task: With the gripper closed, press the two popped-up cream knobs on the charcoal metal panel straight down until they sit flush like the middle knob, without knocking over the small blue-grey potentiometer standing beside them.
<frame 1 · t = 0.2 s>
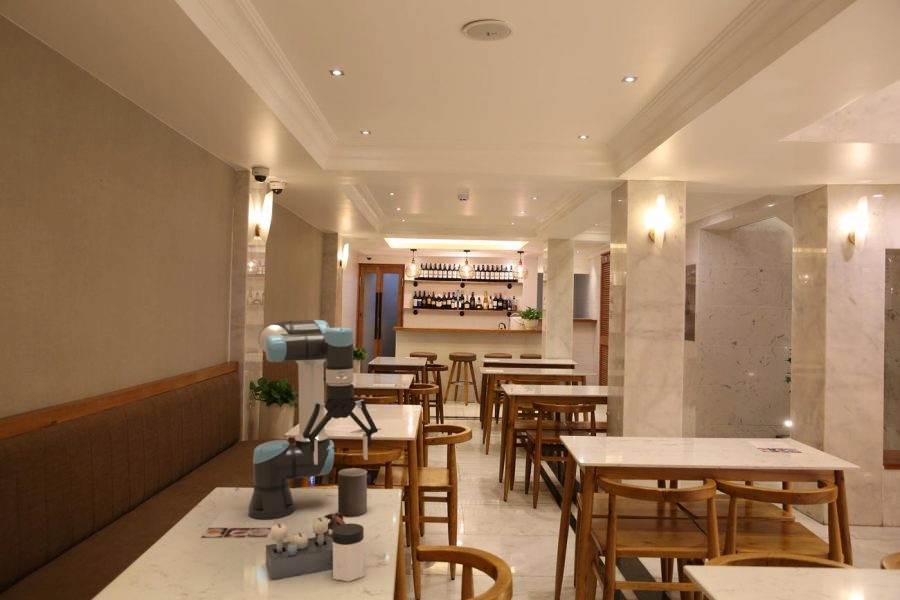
hand: (340, 461, 173), 28 cm above the table, tool pointing down, fingers open, 13 cm apart
knob middle: (300, 549, 170), point 4 cm above the table, slide at 3.3 cm
panel: (300, 565, 170), on the table
pillar candle: (353, 512, 212), on the table
potentiometer: (292, 554, 166), point 5 cm above the table, touching panel
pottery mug: (333, 538, 190), on the table
knob left: (279, 540, 168), point 8 cm above the table, slide at 0.0 cm
jar: (348, 575, 164), on the table
knob right: (320, 534, 173), point 8 cm above the table, slide at 0.0 cm
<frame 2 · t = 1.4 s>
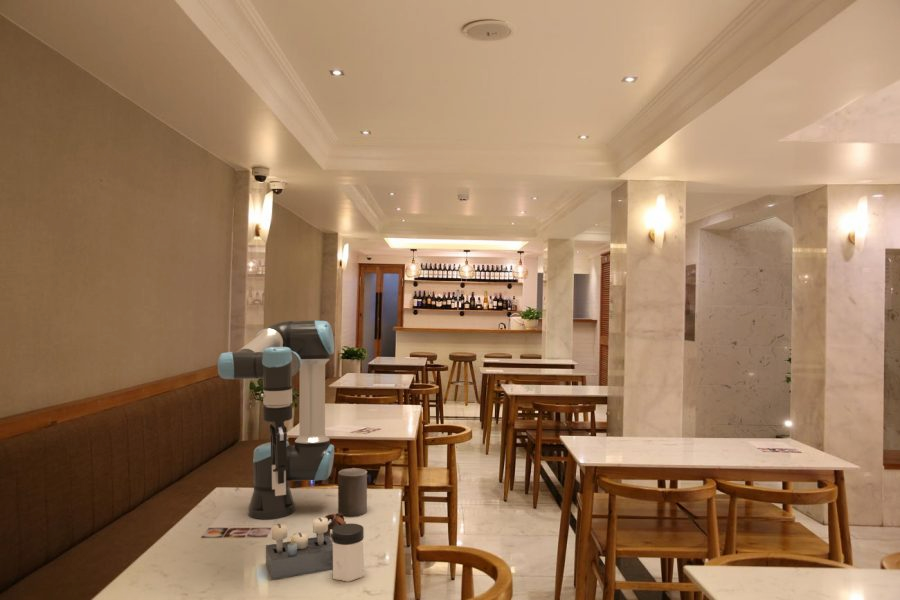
hand: (278, 491, 168), 21 cm above the table, tool pointing down, fingers open, 5 cm apart
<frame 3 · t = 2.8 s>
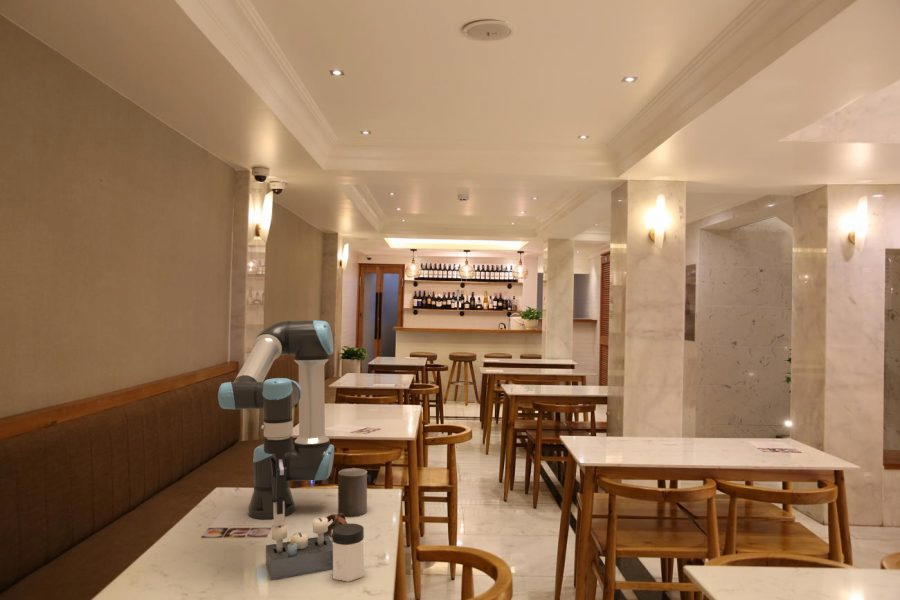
hand: (279, 524, 168), 12 cm above the table, tool pointing down, fingers closed
knob left: (279, 540, 168), point 8 cm above the table, slide at 0.0 cm, touching gripper
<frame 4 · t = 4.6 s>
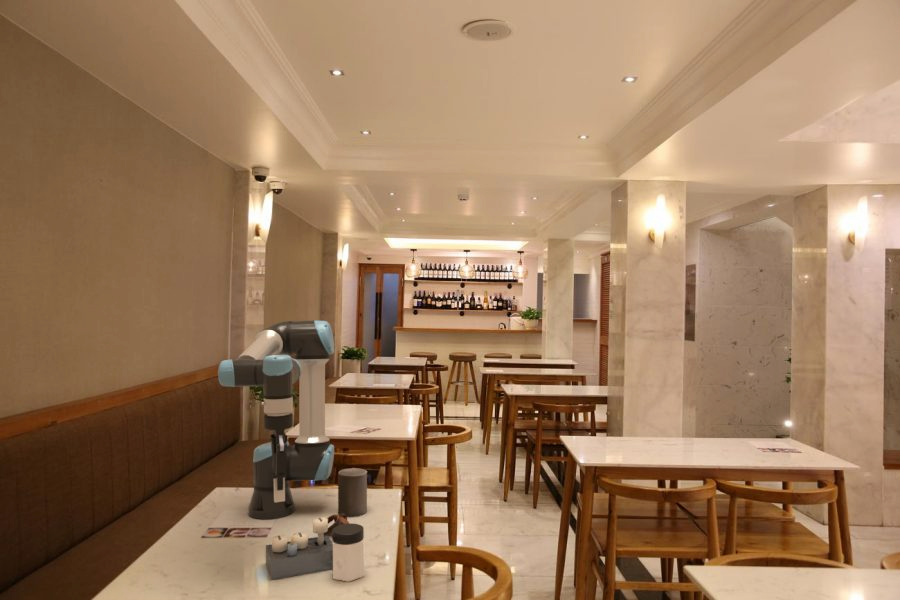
hand: (279, 500, 168), 18 cm above the table, tool pointing down, fingers closed
knob left: (279, 552, 168), point 4 cm above the table, slide at 3.2 cm
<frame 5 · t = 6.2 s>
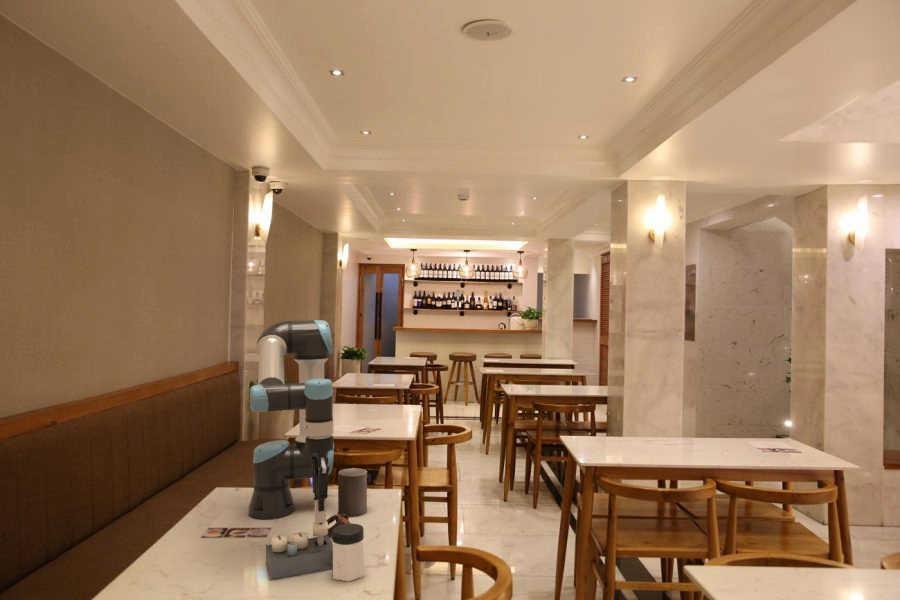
hand: (320, 521, 172), 11 cm above the table, tool pointing down, fingers closed
knob right: (320, 537, 173), point 7 cm above the table, slide at 0.9 cm, touching gripper
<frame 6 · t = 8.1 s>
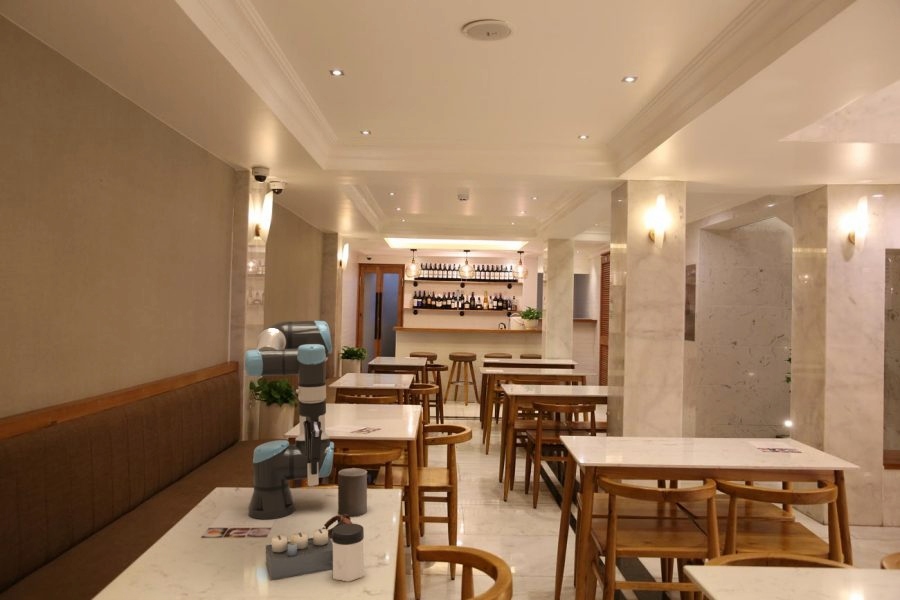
hand: (313, 484, 175), 21 cm above the table, tool pointing down, fingers closed
knob right: (320, 545, 173), point 4 cm above the table, slide at 3.2 cm
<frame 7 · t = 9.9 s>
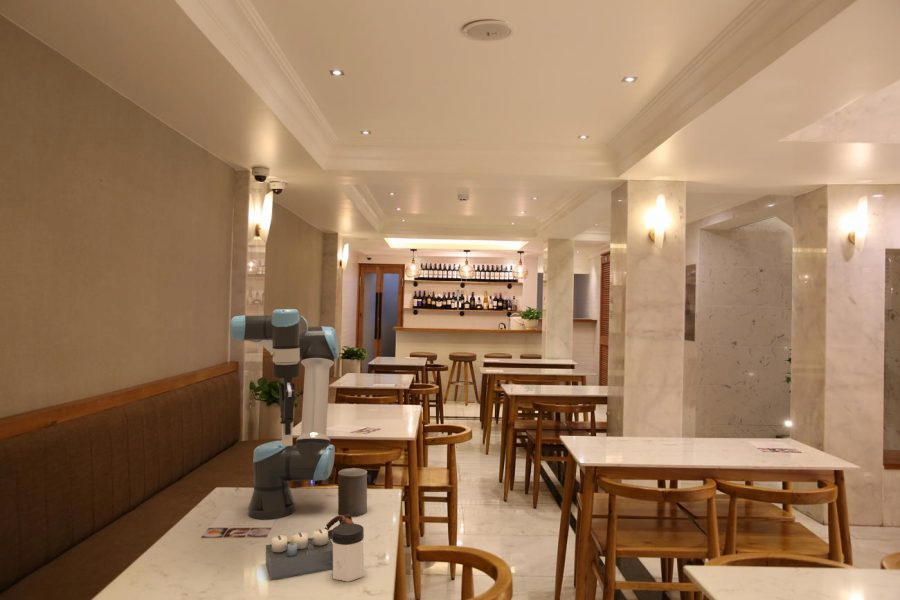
hand: (287, 445, 180), 30 cm above the table, tool pointing down, fingers closed
at the end: knob left slide at 3.2 cm; knob right slide at 3.2 cm; potentiometer moved 0.0 cm from its start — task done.
